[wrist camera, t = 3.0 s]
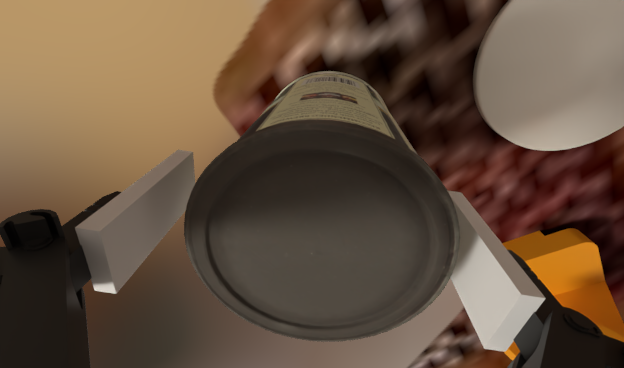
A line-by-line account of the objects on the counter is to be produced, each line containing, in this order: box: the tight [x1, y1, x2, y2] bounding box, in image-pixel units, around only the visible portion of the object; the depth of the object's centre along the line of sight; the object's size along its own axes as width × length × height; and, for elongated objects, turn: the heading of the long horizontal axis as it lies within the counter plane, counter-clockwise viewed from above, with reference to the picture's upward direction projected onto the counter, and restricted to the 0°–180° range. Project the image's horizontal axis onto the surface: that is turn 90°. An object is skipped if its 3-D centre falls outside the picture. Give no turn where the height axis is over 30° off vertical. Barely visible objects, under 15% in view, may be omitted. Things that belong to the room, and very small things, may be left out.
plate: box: [473, 0, 624, 151], centre depth 19 cm, size 12×12×1 cm
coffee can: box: [184, 71, 460, 342], centre depth 17 cm, size 10×10×14 cm
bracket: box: [502, 228, 624, 360], centre depth 23 cm, size 11×7×12 cm, turn 121°
